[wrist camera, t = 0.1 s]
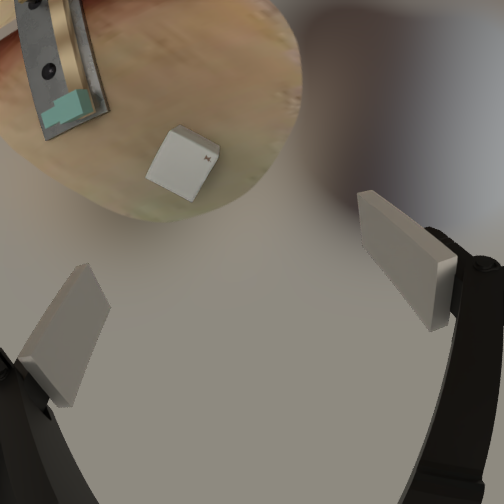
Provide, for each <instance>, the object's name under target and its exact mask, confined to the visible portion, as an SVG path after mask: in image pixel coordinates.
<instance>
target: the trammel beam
mask: <svg viewBox="0 0 504 504" xmlns="http://www.w3.org/2000/svg"><path fill="white" fill-rule="evenodd" d="M24 2H29V3H31V4H34V3H35V2H36V0H18V3H21V4H23V3H24ZM48 3H49V9H50V14H51V19H52V25H53V30H54V34H55V39H56V44H57V48H58V52H59V57H60V61H61V65H62V69H63V73H64V77H65V81H66V84H67V88H68V92H69V93H70V92H72V91H74V90H76V89H87V91H88V94H89V98H90V101H91V105H92V108H93V111H94V112H91V113H89V114H87V115H85V116H83V117H81V118H79V119H82V118H85V117H87V116H89V115H91V114H94V113H96V110H95V107H94V103H93V100H92V97H91V93H90V90H89V86H88V83H87V79H86V75H85V72H84V68H83V64H82V60H81V56H80V52H79V48H78V44H77V40H76V35H75V31H74V27H73V22H72V17H71V13H70V8H69V3H68V0H48ZM77 120H78V119H77Z"/></svg>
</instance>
